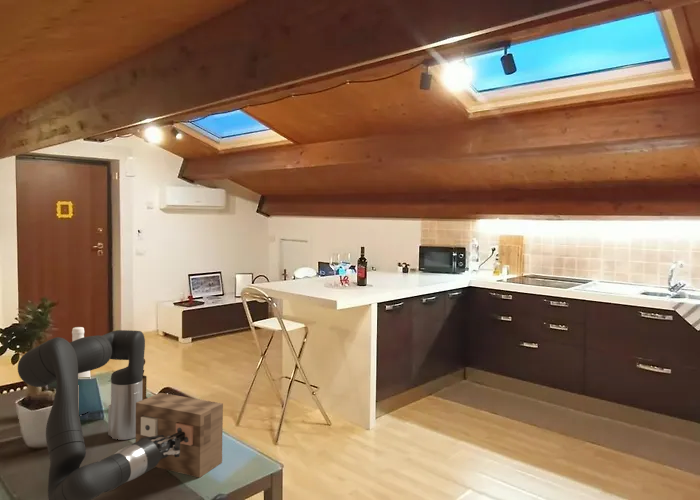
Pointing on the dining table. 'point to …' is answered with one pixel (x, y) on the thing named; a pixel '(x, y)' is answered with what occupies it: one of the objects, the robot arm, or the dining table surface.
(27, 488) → the dining table surface
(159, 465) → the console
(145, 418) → the one dot button
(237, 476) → the dining table surface
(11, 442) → the dining table surface
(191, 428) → the two dot button
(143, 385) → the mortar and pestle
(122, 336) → the robot arm
